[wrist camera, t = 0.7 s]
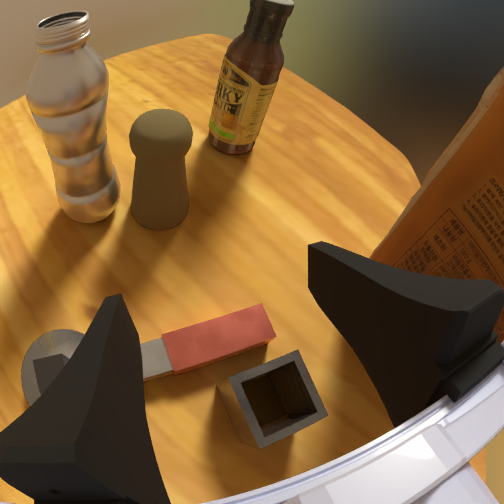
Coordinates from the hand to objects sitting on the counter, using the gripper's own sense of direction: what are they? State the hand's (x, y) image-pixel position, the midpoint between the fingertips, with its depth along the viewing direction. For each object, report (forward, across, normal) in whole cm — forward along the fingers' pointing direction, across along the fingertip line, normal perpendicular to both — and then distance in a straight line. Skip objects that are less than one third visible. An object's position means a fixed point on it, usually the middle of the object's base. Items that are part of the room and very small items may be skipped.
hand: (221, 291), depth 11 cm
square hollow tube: (+5, -2, +16) cm, 17 cm away
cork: (+22, +2, +4) cm, 22 cm away
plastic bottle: (+22, +9, +2) cm, 24 cm away
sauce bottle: (+30, -8, 0) cm, 31 cm away
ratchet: (+9, +6, +12) cm, 16 cm away
